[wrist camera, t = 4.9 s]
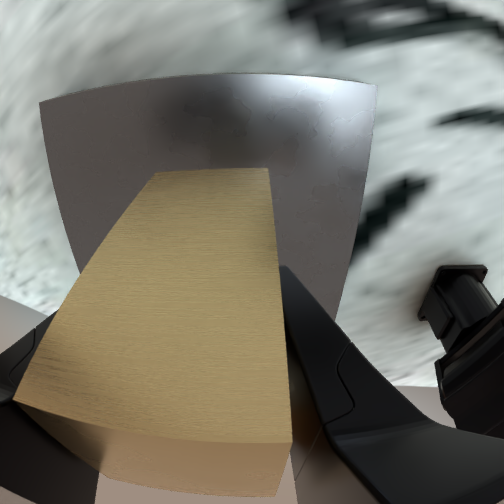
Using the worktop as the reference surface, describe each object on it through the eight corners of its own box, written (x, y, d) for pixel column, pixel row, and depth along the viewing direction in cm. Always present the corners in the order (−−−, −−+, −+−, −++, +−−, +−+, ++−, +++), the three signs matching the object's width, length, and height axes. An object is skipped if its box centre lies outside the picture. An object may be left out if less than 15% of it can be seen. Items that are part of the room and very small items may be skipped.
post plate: (363, 82, 16) (377, 85, 14) (324, 319, 27) (329, 340, 25) (59, 96, 16) (38, 102, 14) (112, 313, 27) (104, 332, 25)
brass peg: (268, 168, 10) (292, 441, 3) (267, 262, 13) (275, 496, 5) (156, 172, 11) (12, 399, 3) (171, 262, 13) (108, 478, 5)
